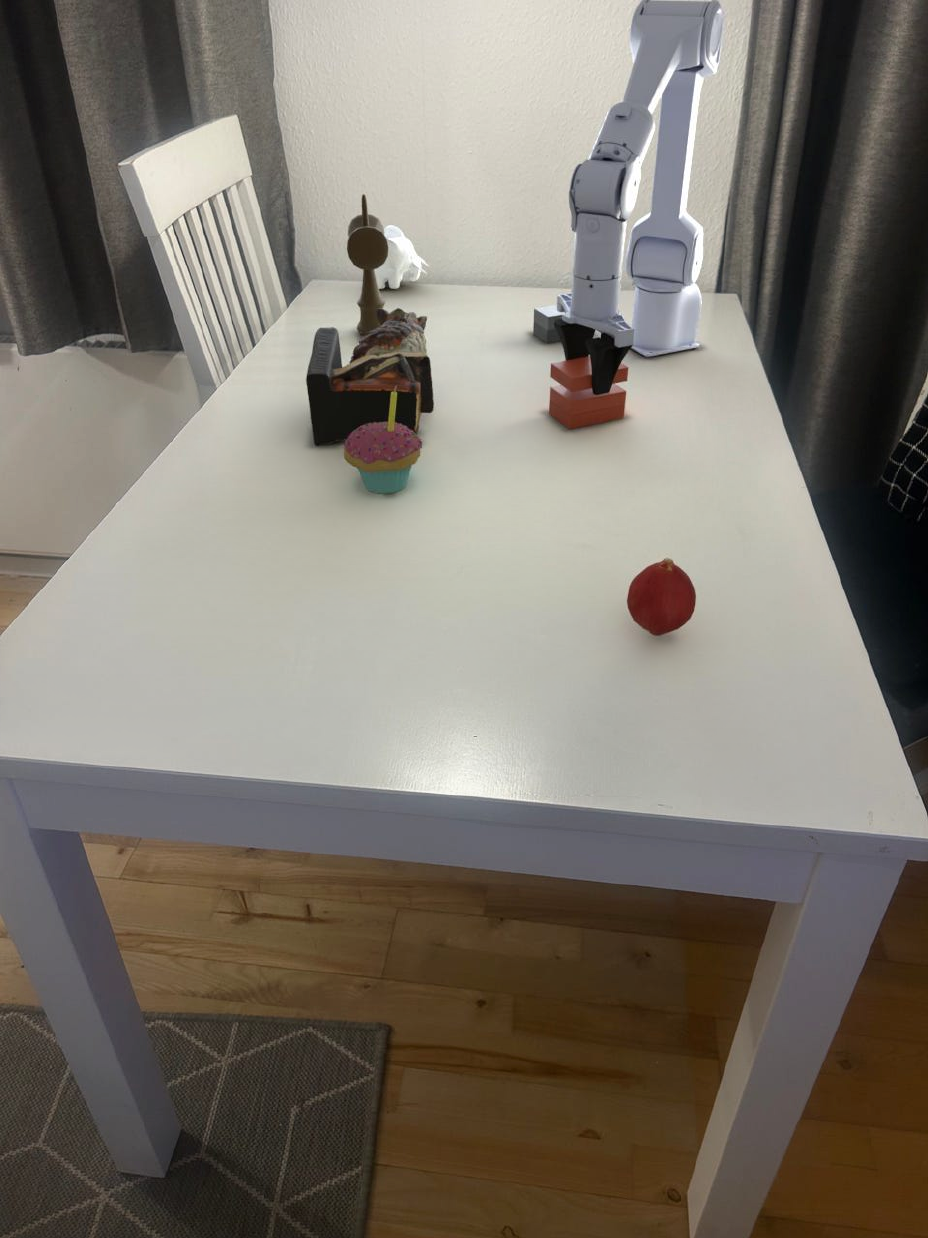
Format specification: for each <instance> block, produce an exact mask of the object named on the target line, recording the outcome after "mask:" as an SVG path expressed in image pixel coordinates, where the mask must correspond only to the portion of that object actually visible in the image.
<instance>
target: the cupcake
mask: <svg viewBox="0 0 928 1238" xmlns="http://www.w3.org/2000/svg"><path fill="white" fill-rule="evenodd" d="M396 387H397V386H395V388H394V392H391V399H390V409H389V419H388V422H386V421H385V422H378V423H376V422H374V423H370V424H368V423H367V424H364V425H362V426H360V427H359V428H357V429H356V430H354V431H352V433H350V434H349V435H348V436H347V437H348V438H347V440H345V442H344V450H343V458H344V460H345V461H346V463H348V464H349V465H350V466H352V467H353V468H356V469H357V472H358V473H359V475H360V477H361V479H362V482H363V484H364V487H365V488H366V489H367V491H370V492H372V493H374V494H380V495H381V494H382V495H386V494H393V493H397V492H400V491H402V490H403V489H404V488H405V487H406V486H407V484H408V481H409V476H410V473H411V471H412V470H411V469H412V467H413V466H414V465H415V464H416V463H417V462H418V459H419V458H420V456H421V453H422V452H421V449H422V448H423V442H422V440H421V438H419V437H418V436H417V432H416V433H414V432H413V430H410V429H409V428H407V426H405V425H402V424H401V423H400V424H399V423H396V422H394V421H395V411H396V401H397V392H396Z"/></svg>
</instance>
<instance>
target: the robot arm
mask: <svg viewBox="0 0 928 1238" xmlns="http://www.w3.org/2000/svg"><path fill="white" fill-rule="evenodd" d="M724 15H725V14H724V8H723V6H722V5H721V3H720V1H719V0H710V1H705V0H701V1H700V0H699V1H698V0H641V1H639V4H638V5H637V6H636V8H635V10H634V12H633V15H632V18H631V23H630V24H631V25H630V32H629V33H630V34H629V46H630V51H631V55H632V56H631V57H632V63H633V65H632V69H631V72H630V75H629V78H628V82H627V85H626V89H625V92H624V95H623V98H622V101H621V102H618V103H615V104H614V105H612V106H611V107H610V108H609V110H607V113H606V116H605V119H604V121H603V123H602V126H601V128H600V130H599V132H598V135H597V138H596V140H595V143H594V145H593V147H592V150H591V151H590V154H589V157H588V158H586V159H585V160H583V162H582V163H578V164H577V165H576V166H575V167H574V170H573V172H572V176H571V179H570V184H569V190H568V205H569V210H570V215H571V220H570V221H571V222H570V225H571V226H570V228H571V231H572V232H573V233H574V244H573V245H574V246H573V262H572V277H571V278H572V279H571V292H568V293H561V294H557V296H556V305H557V311H559V312H565V313H563V314H562V319H558V320H555V321H554V327H555V329H556V330H557V333H558V335H559V337H560V340H561V341H560V342H561V346H562V349H563V353H564V361H566V360H572V359H577V358H582V357H587V356H590V361H591V370H592V391H593V394H595V395H600V394H605V393H609V392H610V389H611V387H612V384H613V381H614V378H615V375H616V373H617V370H618V368H619V366H620V364H621V363H623V361H624V359H625V357H626V355H627V354H628V352H629V351H630V350H631V349H632V350H634V351H635V352H637V353H639V354H640V355H643V356H644V357H646V358H650V357H655V356H660V355H666V354H671V353H676V352H681V351H686V350H692V349H696V348H699V347H700V343H698V342H697V338H698V332H699V326H700V325H699V324H700V317H701V311H702V304H703V303H702V302H703V301H702V294H701V290H700V288H699V287H698V285H697V283H696V282H697V280H698V279H699V278H698V277H699V275H700V273H701V269H702V265H703V259H704V245H703V243H704V231H703V230H704V228H703V226H701V224H699V223H698V221H696V220H695V219H694V218H693V217H692V216H691V215H690V214H689V213H688V212H687V203H688V194H689V188H690V187H689V186H690V176H691V170H692V161H693V152H694V146H695V136H696V129H697V119H698V111H699V103H700V95H701V90H702V87H703V86H702V85H703V83H704V79H705V78H707V77H711V76H713V75H715V74H716V73H717V71H718V67H719V63H720V60H721V59H720V58H721V50H722V43H723V35H724V28H725V16H724ZM659 101H660V110H659V120H658V130H657V141H656V150H655V151H656V152H655V161H654V169H653V170H654V171H653V182H652V190H651V191H652V193H651V202H650V203H651V204H650V212H649V213H648V214H646V215H644V216H643V217H641V218H640V219H638V220H637V221H636V222H635V224H634V225H633V227H632V229H631V231H630V236H629V243H628V246H627V250H626V254H625V255H624V253H625V245H626V233H627V224H628V223H627V222H628V219H629V218H630V216H631V215H632V213H633V210H634V208H635V206H636V201H637V197H638V192H639V186H640V182H641V178H642V172H641V167H642V165H643V164H642V163H643V161H644V159H645V156H646V154H647V152H648V150H649V147H650V143H651V142H652V140H653V136H654V134H655V131H656V122H655V119H654V116H653V113H654V111H655V109H656V107H657V105H658V103H659ZM624 256H625V260H624ZM624 261H625V264H624ZM624 265H625V272H626V274H627V277H628V278H629V279H630V280H632V281H631V285H632V286H634V287H635V288H634V299H633V308H632V316H631V325H630V324H629V323H628V322H627V320H626V319H625V317H624V315H623V314H622V312H621V311H620V309H619V308H620V299H621V298H620V297H621V287H622V276H623V266H624ZM596 331H597V332H598V333H600V336H597V337H594V335H595V333H596Z"/></svg>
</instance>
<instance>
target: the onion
mask: <svg viewBox="0 0 928 1238" xmlns="http://www.w3.org/2000/svg"><path fill="white" fill-rule="evenodd" d="M696 602H697V593H696V588H695V586H694V584H693V582H692V580H691V577H690V576H689V575H688V574H687V572H686V571H684V570H683V568H681V567H680V566H678V565H676V564H675V563H674V560H673V559H672V558H669V557H665V558H664V559H662V560H661V561H658V562H655V563H652V564H650V565H647V566H646V567H645V568H644V569H642V570H641V571H640V572H639V573H638V574H637V575H636V576H635V577H634V578H633V579H632V580H631V582H630V585H629V587H628V592H627V597H626V604H627V609H628V612H629V614H630V616H631V618H632V620H633V622H635V624H637V625H638V626H640V628H642V629H643V630H645V631H647V632H649V634H651V635H652V636H654V637H659V636H663V635H665V634H667V633H671V632H673V631H676V630H679V629H680V628H681V627H683V626H685V624H687V623H688V622H689V621H690V620H691V619H692V617H693V615H694V612H695V608H696Z"/></svg>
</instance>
